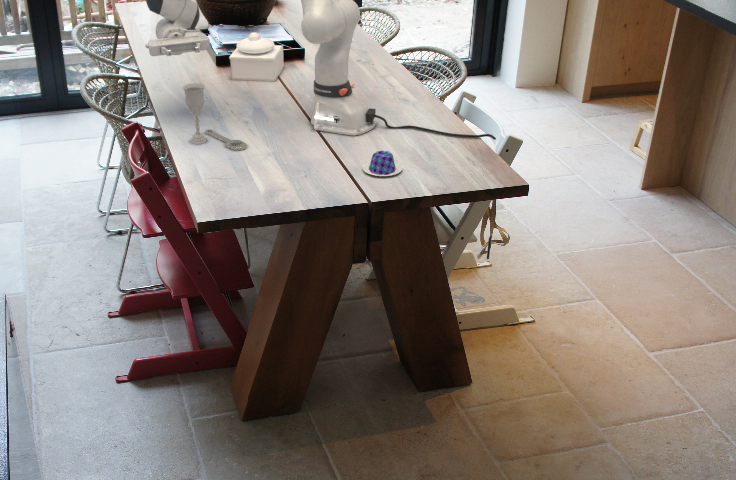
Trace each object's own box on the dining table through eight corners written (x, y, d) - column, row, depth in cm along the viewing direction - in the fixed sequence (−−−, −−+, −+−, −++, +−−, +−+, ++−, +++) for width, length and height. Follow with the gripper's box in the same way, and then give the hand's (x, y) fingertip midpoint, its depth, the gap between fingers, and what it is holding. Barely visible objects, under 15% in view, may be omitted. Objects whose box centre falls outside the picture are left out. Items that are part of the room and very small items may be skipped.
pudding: (410, 169, 256) (410, 152, 253) (386, 181, 249) (386, 165, 246) (378, 159, 263) (379, 143, 260) (354, 171, 255) (354, 155, 252)
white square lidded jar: (283, 67, 341) (282, 26, 332) (274, 81, 327) (273, 39, 318) (241, 65, 344) (239, 25, 335) (230, 80, 329) (227, 38, 320)
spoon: (200, 133, 283) (200, 131, 283) (213, 129, 286) (213, 127, 285) (236, 151, 270) (235, 149, 269) (249, 147, 272) (249, 144, 272)
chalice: (190, 136, 281) (184, 83, 271) (210, 136, 281) (205, 83, 271) (186, 145, 275) (181, 90, 265) (207, 145, 275) (202, 90, 265)
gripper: (142, 34, 279) (150, 45, 268) (203, 27, 284) (213, 38, 273) (145, 53, 283) (152, 65, 272) (204, 46, 288) (214, 57, 277)
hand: (183, 51), depth 273 cm, fingers open, 8 cm apart
